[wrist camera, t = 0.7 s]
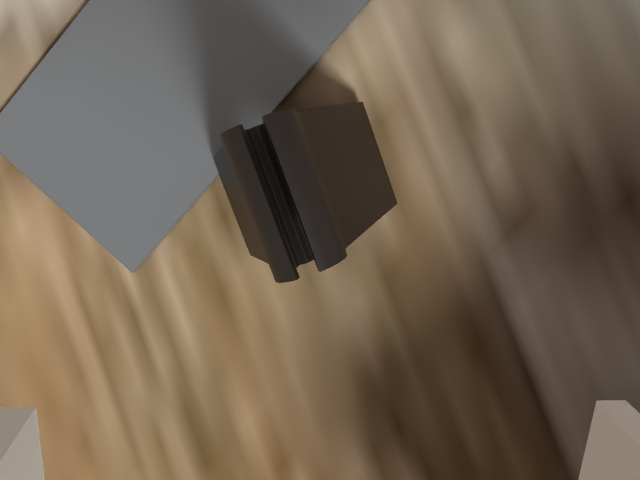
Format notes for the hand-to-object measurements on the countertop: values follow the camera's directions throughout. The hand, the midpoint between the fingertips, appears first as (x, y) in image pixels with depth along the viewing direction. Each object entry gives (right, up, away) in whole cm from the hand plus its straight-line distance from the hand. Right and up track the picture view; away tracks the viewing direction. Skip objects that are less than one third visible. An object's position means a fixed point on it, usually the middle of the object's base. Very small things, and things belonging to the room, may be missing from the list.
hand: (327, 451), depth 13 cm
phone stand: (-1, +9, +19) cm, 21 cm away
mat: (-8, +15, +19) cm, 26 cm away
